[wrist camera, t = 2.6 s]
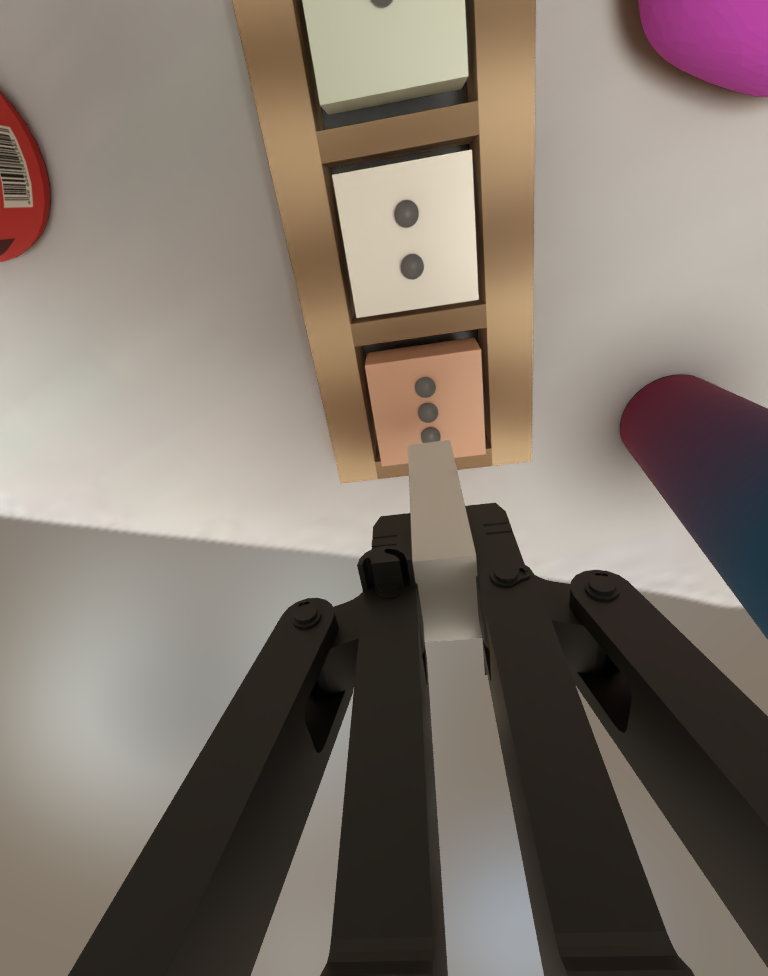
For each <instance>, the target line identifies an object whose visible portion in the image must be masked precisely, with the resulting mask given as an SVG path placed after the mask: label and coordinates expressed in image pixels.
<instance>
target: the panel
mask: <svg viewBox="0 0 768 976" xmlns="http://www.w3.org/2000/svg"><path fill="white" fill-rule="evenodd" d="M232 2H233V6H234V11H235V15H236V20H237V24H238V28H239V33H240V37H241V42H242V46H243V51H244V55H245V60H246V64H247V68H248V73H249V77H250V82H251V86H252V91H253V95H254V100H255V104H256V108H257V113H258V117H259V122H260V126H261V131H262V135H263V140H264V144H265V148H266V153H267V157H268V162H269V166H270V171H271V175H272V180H273V184H274V188H275V193H276V197H277V202H278V206H279V211H280V215H281V220H282V224H283V228H284V233H285V237H286V242H287V246H288V251H289V255H290V260H291V264H292V268H293V273H294V277H295V282H296V286H297V291H298V295H299V300H300V304H301V308H302V313H303V317H304V322H305V326H306V331H307V335H308V340H309V344H310V348H311V353H312V357H313V362H314V366H315V371H316V375H317V380H318V384H319V388H320V393H321V397H322V402H323V406H324V411H325V415H326V420H327V424H328V428H329V433H330V437H331V442H332V446H333V451H334V455H335V460H336V464H337V468H338V473H339V477H340V482H341V483H347V482H355V481H364V480H373V479H381V478H390V477H399V476H408V475H409V463H407V464H398V465H390V466H382V464H381V458H380V452H379V446H378V441H377V435H376V429H375V423H374V417H373V411H372V406H371V400H370V394H369V388H368V382H367V376H366V371H365V363H364V357H363V352H362V346H363V345H370V344H377V343H384V342H391V341H398V340H405V339H412V338H419V337H426V336H432V335H439V334H446V333H453V332H460V331H467V330H474V329H478V332H479V347H480V348H481V360H482V382H483V404H484V426H485V448H486V454H484V455H475V456H467V457H458V458H454V459H455V464H456V468H457V470H460V469H468V468H477V467H486V466H495V465H503V464H512V463H521V462H529V461H532V375H533V261H534V146H535V32H536V0H465V10H466V32H467V54H468V78H467V100H468V103H463V104H458V105H453V106H448V107H443V108H437V109H432V110H427V111H422V112H417V113H411V114H406V115H401V116H396V117H390V118H385V119H380V120H375V121H370V122H364V123H359V124H354V125H349V126H344V127H338V128H333V129H328V130H325V129H324V123H323V118H322V112H321V106H320V102H319V96H318V90H317V84H316V78H315V73H314V67H313V61H312V55H311V49H310V43H309V37H308V32H307V26H306V20H305V14H304V8H303V2H302V0H232ZM469 143H470V150H472V163H473V185H474V207H475V229H476V251H477V273H478V294H479V300H474V301H467V302H460V303H454V304H447V305H440V306H434V307H427V308H420V309H414V310H407V311H400V312H394V313H387V314H380V315H374V316H367V317H360V318H356V312H355V306H354V300H353V295H352V289H351V283H350V277H349V271H348V265H347V259H346V254H345V248H344V242H343V236H342V230H341V224H340V219H339V213H338V207H337V201H336V195H335V189H334V184H333V178H332V170H331V169H332V168H338V167H343V166H349V165H354V164H360V163H365V162H371V161H376V160H382V159H387V158H393V157H398V156H403V155H409V154H414V153H420V152H425V151H431V150H436V149H442V148H447V147H453V146H458V145H463V144H469Z"/></svg>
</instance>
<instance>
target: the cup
mask: <svg viewBox="0 0 768 976" xmlns="http://www.w3.org/2000/svg"><path fill="white" fill-rule="evenodd" d="M620 434H621V438H622V441H623V443H624V445H625V446H626V448H627V449H628V451H629V452H630V453H631V455H632V456H633V457H634V459H635V460H636V461H637V463H638V464H639V465H640V467H641V468H642V470H643V471H644V472H645V474H646V475H647V476H648V478H649V479H650V480H651V482H652V483H653V485H654V486H655V487H656V489H657V490H658V491H659V493H660V494H661V495H662V497H663V498H664V499H665V501H666V502H667V504H668V505H669V506H670V508H671V509H672V510H673V512H674V513H675V514H676V516H677V517H678V518H679V520H680V521H681V523H682V524H683V525H684V527H685V528H686V529H687V531H688V532H689V533H690V535H691V536H692V537H693V539H694V540H695V542H696V543H697V544H698V546H699V547H700V548H701V550H702V551H703V552H704V554H705V555H706V556H707V558H708V559H709V561H710V562H711V563H712V565H713V566H714V567H715V569H716V570H717V571H718V573H719V574H720V575H721V577H722V578H723V580H724V581H725V582H726V584H727V585H728V586H729V588H730V589H731V590H732V592H733V593H734V595H735V596H736V597H737V599H738V600H739V601H740V603H741V604H742V605H743V607H744V608H745V609H746V611H747V612H748V613H749V615H750V616H751V618H752V619H753V620H754V622H755V623H756V624H757V626H758V627H759V628H760V630H761V631H762V633H763V634H764V635H765V637H766V638H767V639H768V409H767V408H765V407H763V406H760V405H758V404H756V403H754V402H751V401H749V400H747V399H745V398H743V397H740V396H738V395H736V394H734V393H731V392H729V391H727V390H725V389H723V388H720V387H718V386H716V385H714V384H711V383H709V382H707V381H705V380H702V379H700V378H697V377H695V376H691V375H684V374H683V375H672V376H668V377H663V378H661V379H659V380H656V381H654V382H652V383H650V384H649V385H647V386H646V387H644V388H643V389H642V390H641V391H639V392H638V393H637V394H636V395H635V396H634V397H633V398H632V400H631V401H630V402H629V404H628V405H627V407H626V409H625V411H624V413H623V416H622V419H621V424H620Z"/></svg>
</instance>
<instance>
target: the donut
mask: <svg viewBox="0 0 768 976" xmlns="http://www.w3.org/2000/svg"><path fill="white" fill-rule="evenodd" d="M638 1H639V11H640V19H641V24H642V27H643V30H644V32H645V35H646V37H647V39H648V41H649V43H650V44H651V46H652V47H653V48H654V50H655V51H656V52H657V53H658V54H659V55H660V56H661V57H662V58H663V59H664V60H666V61H667V62H669V63H670V64H672V65H674V66H675V67H677V68H678V69H680V70H682V71H684V72H687V73H689V74H691V75H693V76H695V77H698V78H700V79H702V80H704V81H706V82H708V83H711V84H714V85H717V86H720V87H723V88H726V89H729V90H732V91H735V92H739V93H743V94H747V95H752V96H757V97H768V0H638Z"/></svg>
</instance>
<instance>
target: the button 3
mask: <svg viewBox="0 0 768 976" xmlns="http://www.w3.org/2000/svg"><path fill="white" fill-rule="evenodd" d="M365 371H366V376H367V382H368V388H369V394H370V400H371V406H372V411H373V417H374V423H375V429H376V435H377V441H378V446H379V452H380V458H381V464H382V466H390V465H398V464H407V463H409V461H408V445H413V444H421V443H429V442H437V441H445V440H450V442H451V446H452V451H453V455H454V458H458V457H467V456H475V455H484V454H486V448H485V426H484V404H483V382H482V360H481V348H480V347H479V345H478V343H477V341H476V339H475V338H467V339H460V340H453V341H446V342H439V343H432V344H424V345H417V346H410V347H403V348H396V349H389V350H382V351H375V352H368V353H367V357H366V362H365Z"/></svg>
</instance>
